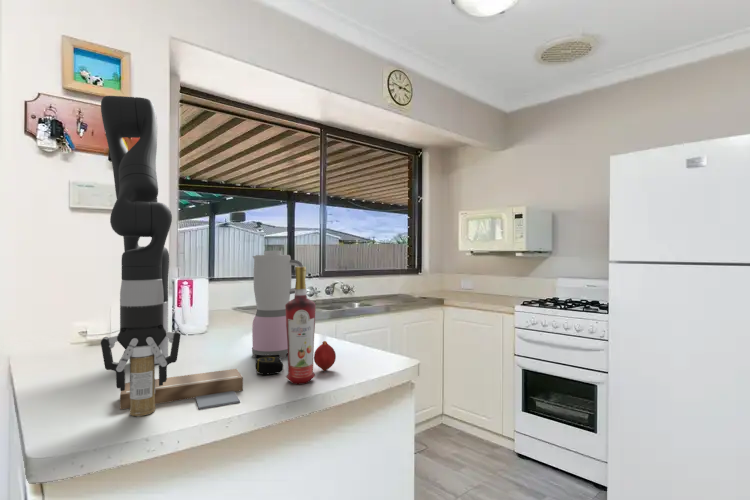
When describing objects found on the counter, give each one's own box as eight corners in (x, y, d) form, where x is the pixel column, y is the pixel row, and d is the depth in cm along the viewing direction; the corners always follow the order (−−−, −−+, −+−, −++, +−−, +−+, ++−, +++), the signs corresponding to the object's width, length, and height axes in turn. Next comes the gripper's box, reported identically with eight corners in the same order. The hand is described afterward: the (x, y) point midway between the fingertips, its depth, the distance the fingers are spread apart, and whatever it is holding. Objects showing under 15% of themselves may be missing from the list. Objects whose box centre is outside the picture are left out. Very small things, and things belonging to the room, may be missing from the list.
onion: (314, 367, 114) (314, 338, 114) (335, 367, 114) (335, 338, 114) (313, 374, 108) (313, 343, 108) (335, 373, 109) (335, 342, 109)
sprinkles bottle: (158, 407, 85) (158, 341, 85) (151, 416, 81) (151, 346, 81) (133, 409, 84) (133, 342, 84) (125, 418, 80) (125, 347, 80)
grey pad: (198, 409, 84) (198, 407, 84) (195, 398, 90) (195, 396, 90) (239, 402, 88) (239, 400, 88) (234, 392, 94) (234, 390, 94)
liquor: (314, 375, 107) (314, 266, 107) (317, 384, 99) (316, 267, 99) (285, 377, 105) (285, 266, 105) (285, 387, 98) (285, 267, 98)
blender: (246, 359, 123) (245, 250, 123) (258, 349, 135) (258, 250, 135) (299, 359, 123) (299, 250, 123) (306, 349, 135) (306, 250, 135)
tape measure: (283, 375, 107) (283, 361, 107) (255, 378, 105) (255, 363, 105) (281, 368, 114) (281, 354, 114) (255, 370, 112) (255, 356, 112)
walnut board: (120, 409, 84) (120, 394, 84) (122, 397, 91) (122, 383, 91) (242, 390, 96) (242, 376, 96) (236, 380, 103) (236, 368, 103)
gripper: (96, 306, 76) (96, 399, 76) (183, 302, 83) (183, 386, 83) (101, 302, 83) (101, 387, 83) (181, 298, 89) (181, 376, 89)
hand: (142, 386), depth 83 cm, fingers open, 6 cm apart
